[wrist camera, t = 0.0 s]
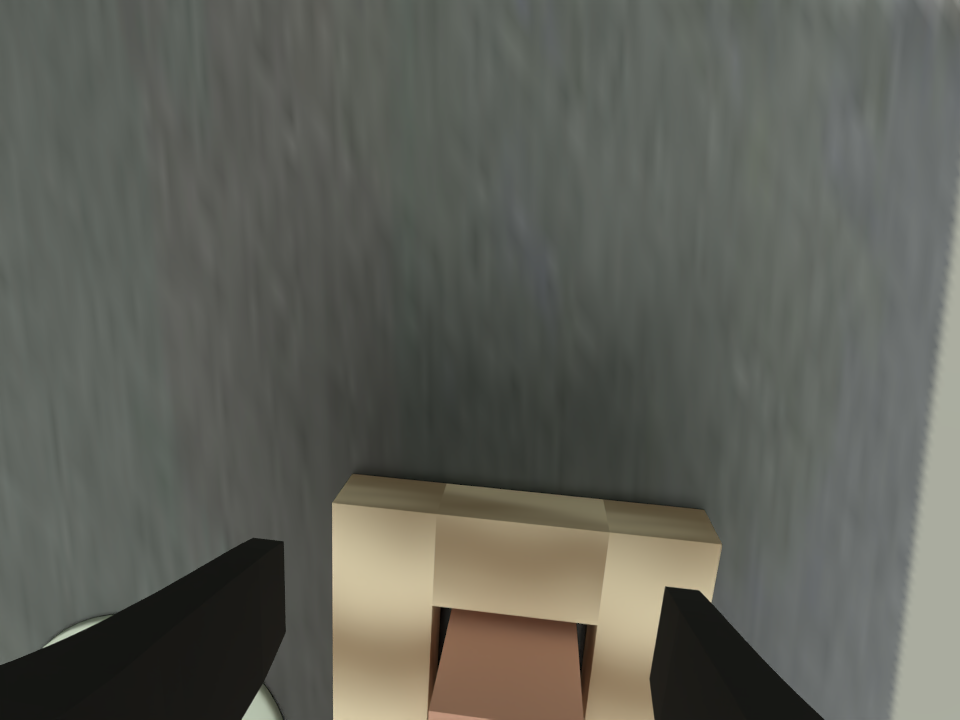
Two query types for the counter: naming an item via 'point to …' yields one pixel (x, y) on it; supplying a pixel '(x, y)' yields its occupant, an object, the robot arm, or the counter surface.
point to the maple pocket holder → (502, 584)
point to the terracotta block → (507, 669)
